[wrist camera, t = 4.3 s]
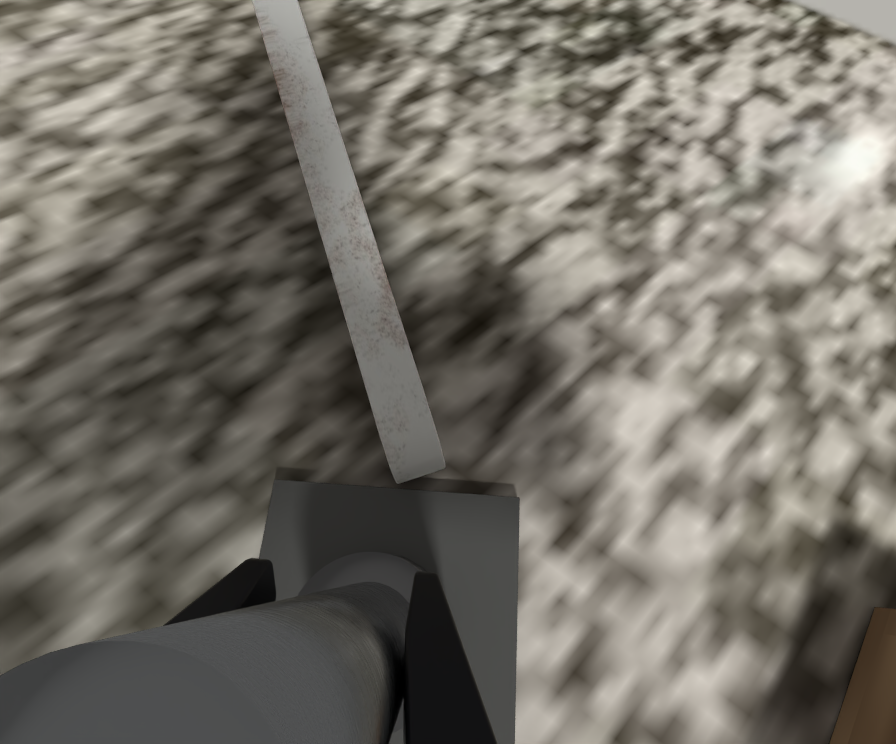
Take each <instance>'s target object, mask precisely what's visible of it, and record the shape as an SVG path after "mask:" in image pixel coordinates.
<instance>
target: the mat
mask: <svg viewBox="0 0 896 744" xmlns="http://www.w3.org/2000/svg"><path fill="white" fill-rule="evenodd" d="M519 501H520V498H519V497H505V496H491V495H478V494H464V493H451V492H437V491H424V490H410V489H397V488H383V487H370V486H356V485H342V484H329V483H315V482H302V481H288V480H274V485H273V490H272V495H271V501H270V506H269V511H268V516H267V521H266V526H265V531H264V536H263V541H262V546H261V551H260V557H259V559H268V560H270V561H271V562H272V564H273V570H274V578H275V586H276V601H278V600H283V599H287V598H292V597H296V596H297V595H298V594H299V592H300V591H301V589H302V588H303V587H304V585H305V584H306V583H307V582H308V581H309V579H311V578H312V577H313V576H314V575H315V574H316V573H317V572H318V571H319V570H321V569H322V568H323V567H325V566H326V565H328V564H329V563H331V562H333V561H335V560H337V559H339V558H341V557H344V556H347V555H350V554H354V553H360V552H380V553H387V554H393V555H399V556H402V557H406V558H408V559H410V560H412V561H414V562H416V563H417V564H419V565H420V566H422V567H423V568H424V569H425V570H426V571H427V572H435V573H437V574H438V576H439V578H440V581H441V584H442V587H443V589H444V592H445V595H446V598H447V601H448V604H449V606H450V609H451V612H452V615H453V618H454V621H455V623H456V626H457V629H458V632H459V635H460V638H461V640H462V643H463V646H464V649H465V652H466V655H467V657H468V660H469V663H470V666H471V669H472V672H473V674H474V677H475V680H476V683H477V686H478V689H479V691H480V694H481V697H482V700H483V703H484V706H485V708H486V711H487V714H488V717H489V720H490V723H491V725H492V728H493V731H494V734H495V737H496V739H497V742H498V744H515V701H516V651H517V601H518V551H519ZM389 744H403V728H402V729H400V730H399V731H397V732H394V733H392V736H391V739H390V742H389Z"/></svg>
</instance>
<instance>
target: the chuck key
mask: <svg viewBox="0 0 896 744" xmlns="http://www.w3.org/2000/svg"><path fill="white" fill-rule="evenodd" d="M417 571H424V572H427V571H426V570H425V569H424V568H423V567H422V566H420V565H419V564H417V563H416V562H414V561H412V560H410V559H408V558H406V557H402V556H399V555H393V554H387V553H380V552H360V553H354V554H350V555H347V556H344V557H341V558H339V559H337V560H335V561H333V562H331V563H329V564H328V565H326V566H325V567H323V568H322V569H321V570H319V571H318V572H317V573H316V574H315V575H314V576H313V577H312V578H311V579H309V581H308V582H307V583H306V584H305V585H304V587H303V588H302V589H301V591H300V592H299V594H298V595H297V596H296V597H292V598H287V599H283V600H278V601H274V602H269V603H265V604H260V605H256V606H251V607H247V608H242V609H238V610H233V611H229V612H224V613H220V614H215V615H211V616H206V617H202V618H197V619H193V620H188V621H184V622H179V623H175V624H170V625H165V626H161V627H156V628H152V629H147V630H143V631H138V632H134V633H129V634H125V635H120V636H116V637H111V638H107V639H102V640H98V641H93V642H89V643H84V644H80V645H76V646H72V647H69V648H65V649H61V650H58V651H54V652H50V653H48V654H45V655H43V656H40V657H38V658H35V659H33V660H31V661H28V662H26V663H23V664H21V665H19V666H17V667H15V668H13V669H12V670H10V671H8V672H6V673H4V674H2V675H1V676H0V744H389V742H390V739H391V736H392V733H394V732H397V731H399V730H400V729H402V728H403V701H404V652H405V628H406V621H407V615H408V609H409V603H410V598H411V592H412V586H413V580H414V575H415V573H416V572H417Z"/></svg>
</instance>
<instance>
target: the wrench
mask: <svg viewBox="0 0 896 744" xmlns="http://www.w3.org/2000/svg"><path fill="white" fill-rule="evenodd" d="M252 3H253V6H254V10H255V13H256V16H257V20H258V23H259V27H260V30H261V33H262V37H263V40H264V44H265V47H266V50H267V54H268V57H269V61H270V64H271V67H272V71H273V74H274V78H275V81H276V84H277V88H278V91H279V95H280V98H281V102H282V105H283V108H284V112H285V115H286V119H287V122H288V125H289V129H290V132H291V136H292V139H293V142H294V146H295V149H296V153H297V156H298V159H299V163H300V166H301V170H302V173H303V176H304V180H305V183H306V187H307V190H308V194H309V197H310V200H311V204H312V207H313V211H314V214H315V217H316V221H317V224H318V228H319V231H320V234H321V238H322V241H323V245H324V248H325V251H326V255H327V258H328V262H329V265H330V268H331V272H332V275H333V279H334V282H335V286H336V289H337V292H338V296H339V299H340V303H341V306H342V309H343V313H344V316H345V320H346V323H347V326H348V330H349V333H350V337H351V340H352V343H353V347H354V350H355V354H356V357H357V360H358V364H359V367H360V371H361V374H362V378H363V381H364V384H365V388H366V391H367V395H368V398H369V401H370V405H371V408H372V412H373V415H374V418H375V422H376V425H377V429H378V432H379V435H380V439H381V442H382V445H383V448H384V451H385V455H386V458H387V461H388V464H389V467H390V470H391V472H392V475H393V477H394V480H395V482H396V483H397V484H400V483H403V482H406V481H409V480H412V479H415V478H418V477H421V476H424V475H427V474H430V473H433V472H436V471H439V470H442V469H445V467H446V464H445V459H444V455H443V451H442V447H441V444H440V440H439V437H438V434H437V430H436V427H435V424H434V421H433V417H432V414H431V411H430V408H429V405H428V402H427V399H426V396H425V393H424V389H423V386H422V383H421V380H420V377H419V374H418V371H417V368H416V365H415V362H414V359H413V355H412V352H411V349H410V346H409V343H408V340H407V337H406V334H405V331H404V328H403V324H402V321H401V318H400V315H399V312H398V309H397V306H396V303H395V300H394V297H393V294H392V290H391V287H390V284H389V281H388V278H387V275H386V272H385V269H384V266H383V263H382V259H381V256H380V253H379V250H378V247H377V244H376V241H375V238H374V235H373V232H372V229H371V225H370V222H369V219H368V216H367V213H366V210H365V207H364V204H363V201H362V198H361V194H360V191H359V188H358V185H357V182H356V179H355V176H354V173H353V170H352V167H351V164H350V160H349V157H348V154H347V151H346V148H345V145H344V142H343V139H342V136H341V133H340V129H339V126H338V123H337V120H336V117H335V114H334V111H333V108H332V105H331V102H330V99H329V95H328V92H327V89H326V86H325V83H324V80H323V77H322V74H321V71H320V68H319V65H318V61H317V58H316V55H315V52H314V49H313V46H312V43H311V40H310V37H309V34H308V30H307V27H306V24H305V21H304V18H303V15H302V12H301V9H300V6H299V3H298V0H252Z"/></svg>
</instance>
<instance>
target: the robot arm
mask: <svg viewBox="0 0 896 744" xmlns="http://www.w3.org/2000/svg"><path fill="white" fill-rule="evenodd" d="M274 601H276V586H275V578H274V570H273V564H272V562H271V561H270V560H268V559H256V558H250V559H247V560H245V561H244V562H243V563H241V564H240V565H239V566H238V567H236V568H235V569H234V570H233V571H231V572H230V573H229V574H228V575H226V576H225V577H224V578H223V579H221V580H220V581H219V582H217V583H216V584H215V585H214V586H212V587H211V588H210V589H209V590H207V591H206V592H205V593H204V594H202V595H201V596H200V597H199V598H197V599H196V600H195V601H193V602H192V603H191V604H190V605H188V606H187V607H186V608H185V609H183V610H182V611H181V612H180V613H178V614H177V615H176V616H175V617H173V618H172V619H171V620H169V621H168V622H167V623H166V624H164V625H163V626H165V625H170V624H175V623H179V622H184V621H188V620H193V619H197V618H202V617H206V616H211V615H215V614H220V613H224V612H229V611H233V610H238V609H242V608H247V607H251V606H256V605H260V604H265V603H269V602H274ZM403 744H498V742H497V739H496V737H495V734H494V731H493V728H492V725H491V723H490V720H489V717H488V714H487V711H486V708H485V706H484V703H483V700H482V697H481V694H480V691H479V689H478V686H477V683H476V680H475V677H474V674H473V672H472V669H471V666H470V663H469V660H468V657H467V655H466V652H465V649H464V646H463V643H462V640H461V638H460V635H459V632H458V629H457V626H456V623H455V621H454V618H453V615H452V612H451V609H450V606H449V604H448V601H447V598H446V595H445V592H444V589H443V587H442V584H441V581H440V578H439V576H438V574H437V573H435V572H424V571H417V572H416V573H415V575H414V580H413V586H412V592H411V598H410V603H409V609H408V615H407V621H406V628H405V652H404V701H403Z"/></svg>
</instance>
